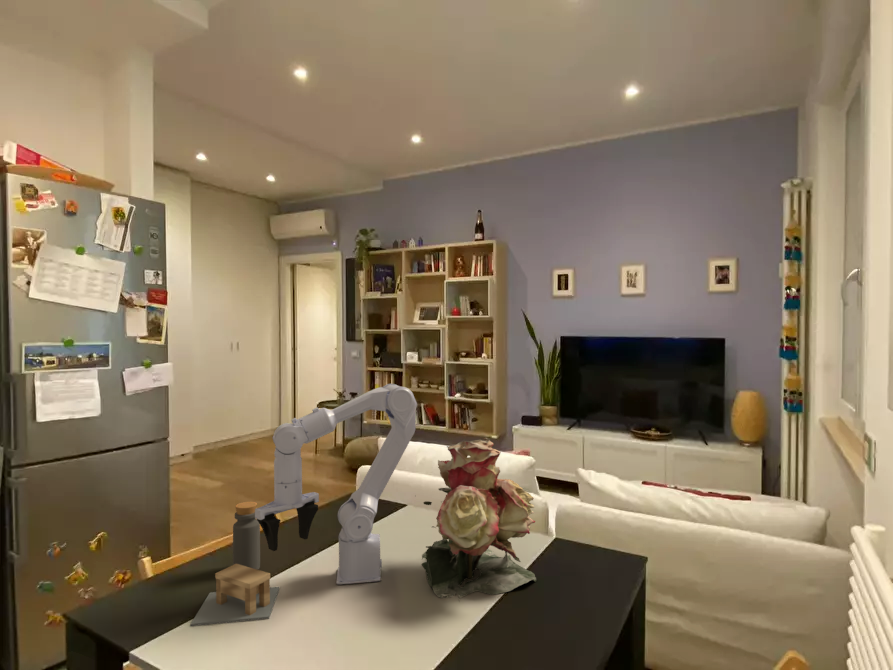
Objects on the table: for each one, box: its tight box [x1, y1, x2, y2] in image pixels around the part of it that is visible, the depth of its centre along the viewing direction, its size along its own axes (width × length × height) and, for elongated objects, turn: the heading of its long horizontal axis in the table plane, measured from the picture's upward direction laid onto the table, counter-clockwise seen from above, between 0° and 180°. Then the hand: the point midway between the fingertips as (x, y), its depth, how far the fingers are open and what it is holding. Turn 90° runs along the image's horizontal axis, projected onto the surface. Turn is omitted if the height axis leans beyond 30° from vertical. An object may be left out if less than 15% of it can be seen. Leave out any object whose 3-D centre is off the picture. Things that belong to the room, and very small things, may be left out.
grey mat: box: [190, 586, 280, 627], centre depth 102 cm, size 14×12×1 cm
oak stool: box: [214, 564, 271, 615], centre depth 102 cm, size 10×5×6 cm, turn 62°
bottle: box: [232, 501, 261, 570], centre depth 119 cm, size 6×6×15 cm
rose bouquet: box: [414, 437, 537, 603], centre depth 117 cm, size 26×29×30 cm
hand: (288, 543), depth 110 cm, fingers open, 7 cm apart
